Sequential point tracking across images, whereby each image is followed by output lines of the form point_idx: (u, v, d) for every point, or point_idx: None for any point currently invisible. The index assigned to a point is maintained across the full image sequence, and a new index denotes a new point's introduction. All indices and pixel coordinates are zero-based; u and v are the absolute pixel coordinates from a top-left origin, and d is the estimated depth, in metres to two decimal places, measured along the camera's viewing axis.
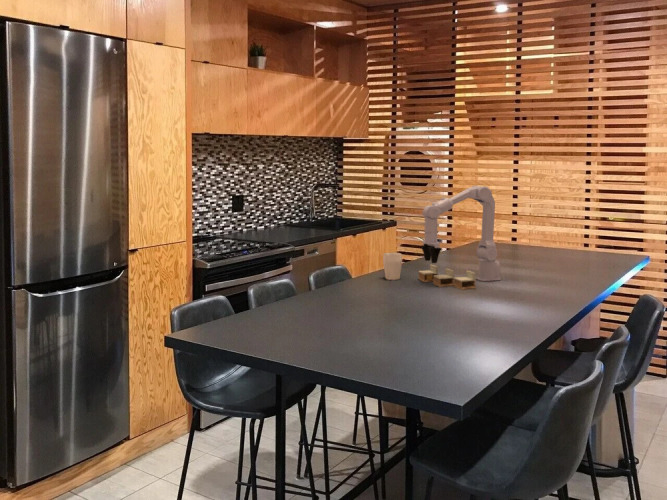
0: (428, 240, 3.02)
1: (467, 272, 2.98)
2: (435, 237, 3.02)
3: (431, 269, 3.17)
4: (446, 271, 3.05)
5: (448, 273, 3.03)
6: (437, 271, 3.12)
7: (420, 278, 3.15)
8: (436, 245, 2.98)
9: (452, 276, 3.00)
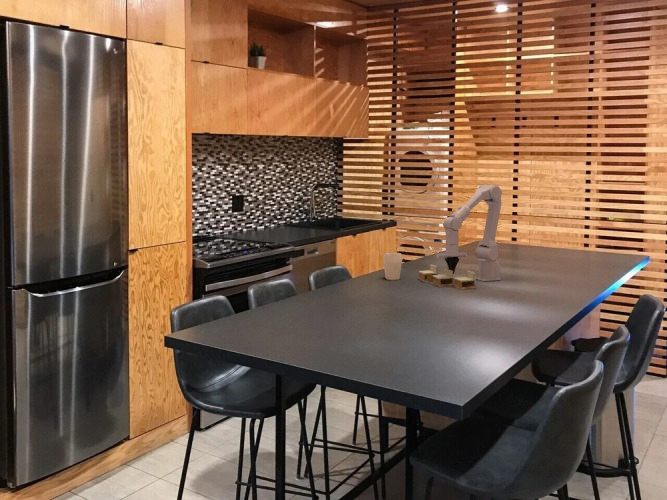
0: None
1: (467, 272, 2.98)
2: (447, 249, 3.01)
3: (431, 269, 3.17)
4: (445, 271, 3.05)
5: (447, 273, 3.03)
6: (437, 271, 3.12)
7: (420, 278, 3.15)
8: (436, 255, 3.01)
9: (451, 276, 3.00)
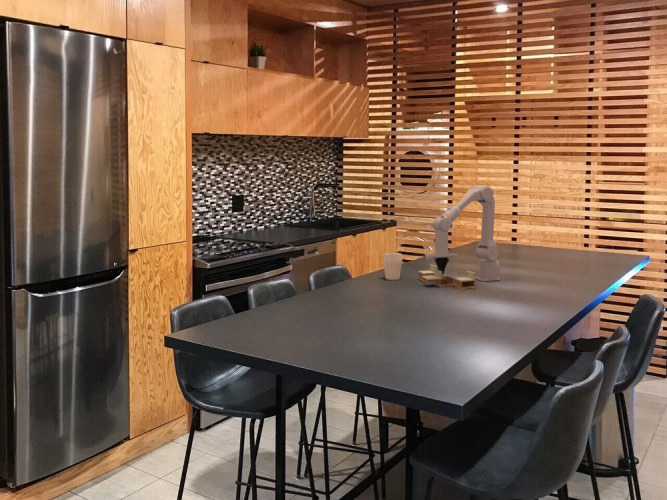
0: None
1: (467, 272, 2.98)
2: (437, 249, 2.99)
3: (431, 269, 3.17)
4: (435, 272, 3.04)
5: (436, 274, 3.02)
6: None
7: (420, 278, 3.15)
8: (426, 256, 3.00)
9: (440, 277, 2.99)
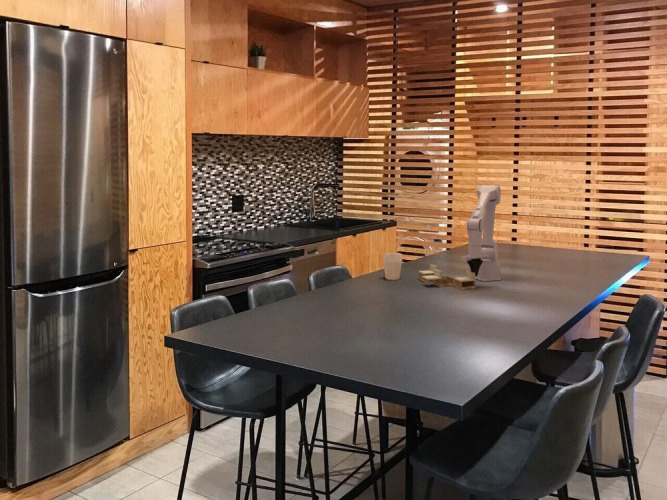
0: (468, 253, 2.96)
1: (467, 272, 2.98)
2: (472, 251, 2.93)
3: (431, 269, 3.17)
4: (435, 272, 3.04)
5: (436, 274, 3.02)
6: None
7: (420, 278, 3.15)
8: (461, 258, 2.92)
9: (440, 277, 2.99)
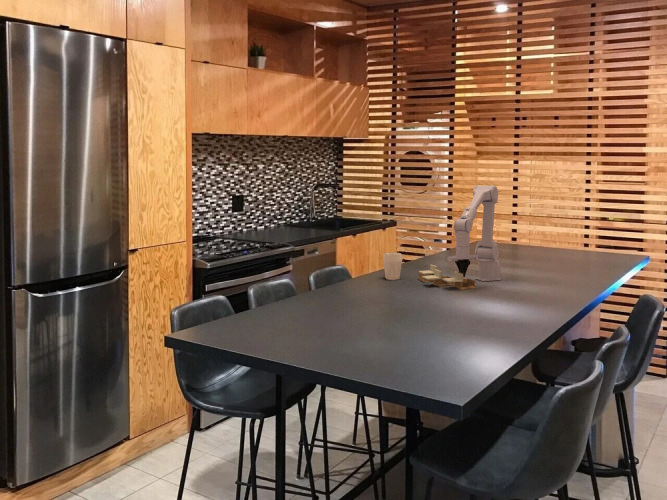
0: None
1: (455, 273, 2.97)
2: (458, 251, 2.92)
3: (431, 269, 3.17)
4: (435, 272, 3.04)
5: (436, 274, 3.02)
6: None
7: (420, 278, 3.15)
8: (447, 259, 2.92)
9: (440, 277, 2.99)
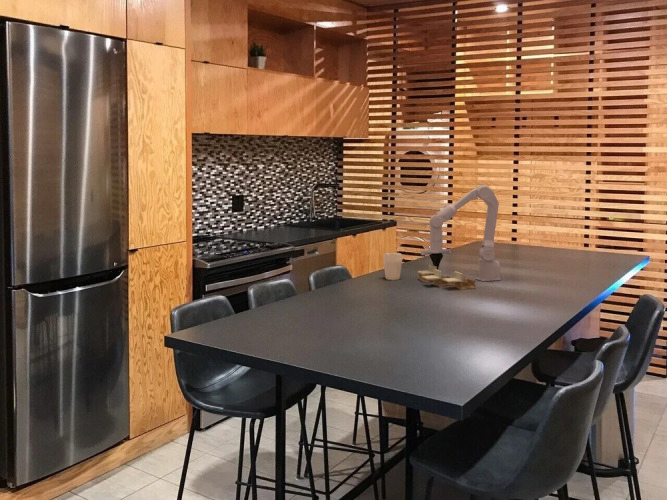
0: None
1: (455, 273, 2.97)
2: (431, 246, 3.12)
3: (430, 269, 3.17)
4: (435, 272, 3.04)
5: (436, 274, 3.02)
6: None
7: (420, 278, 3.15)
8: (421, 252, 3.13)
9: (440, 277, 2.99)
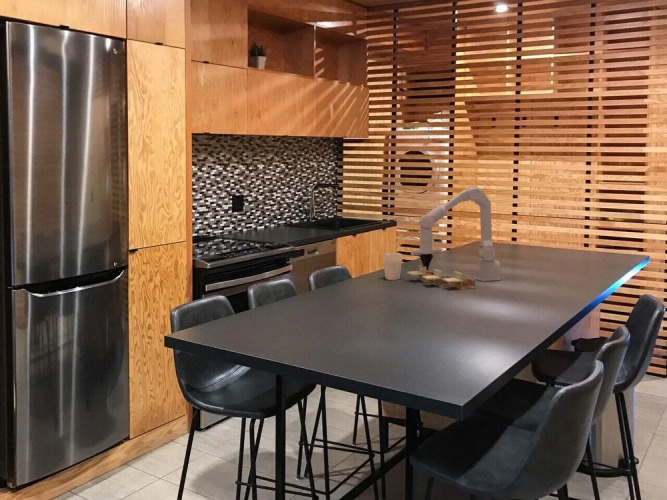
0: None
1: (455, 273, 2.97)
2: (421, 246, 3.11)
3: (420, 270, 3.15)
4: (435, 272, 3.04)
5: (436, 274, 3.02)
6: (426, 272, 3.11)
7: (420, 278, 3.15)
8: (411, 253, 3.12)
9: (440, 277, 2.99)
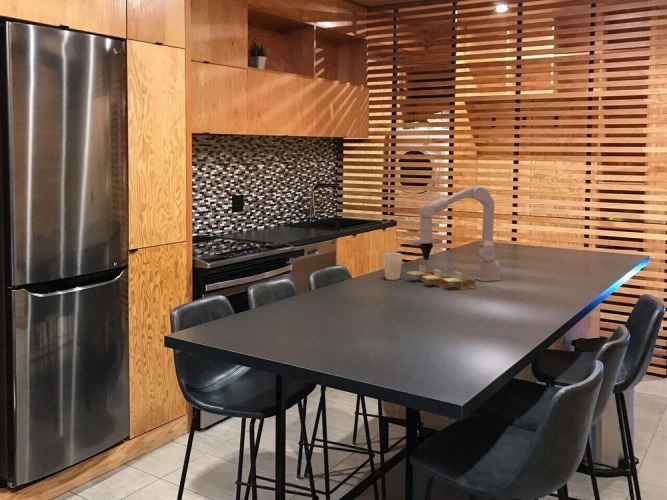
0: None
1: (455, 273, 2.97)
2: (421, 235, 3.11)
3: (420, 270, 3.15)
4: (435, 272, 3.04)
5: (436, 274, 3.02)
6: (426, 272, 3.11)
7: (420, 278, 3.15)
8: (411, 242, 3.11)
9: (440, 277, 2.99)
